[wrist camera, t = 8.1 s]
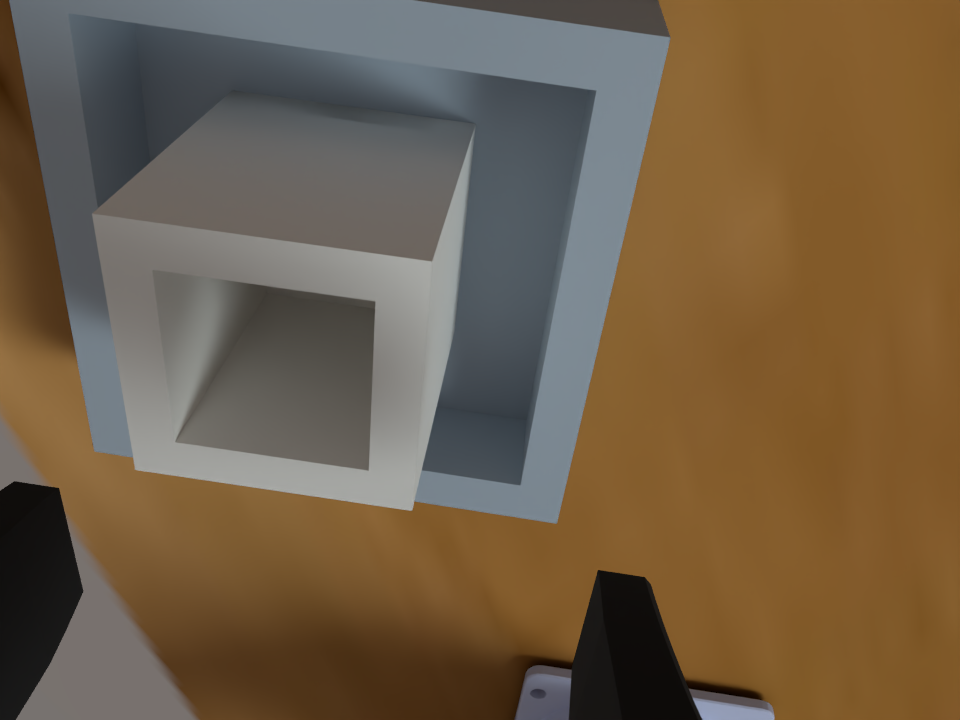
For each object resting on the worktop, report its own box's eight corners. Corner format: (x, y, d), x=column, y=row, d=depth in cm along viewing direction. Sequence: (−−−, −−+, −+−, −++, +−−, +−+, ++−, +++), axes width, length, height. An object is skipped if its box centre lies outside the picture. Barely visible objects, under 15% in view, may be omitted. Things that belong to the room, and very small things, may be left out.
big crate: (559, 441, 22) (556, 523, 20) (148, 377, 23) (94, 451, 20) (657, -2, 16) (670, 38, 14) (86, -84, 16) (-3, -61, 14)
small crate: (454, 331, 20) (412, 510, 15) (245, 301, 20) (135, 469, 15) (476, 123, 17) (432, 261, 12) (232, 90, 17) (91, 213, 12)
